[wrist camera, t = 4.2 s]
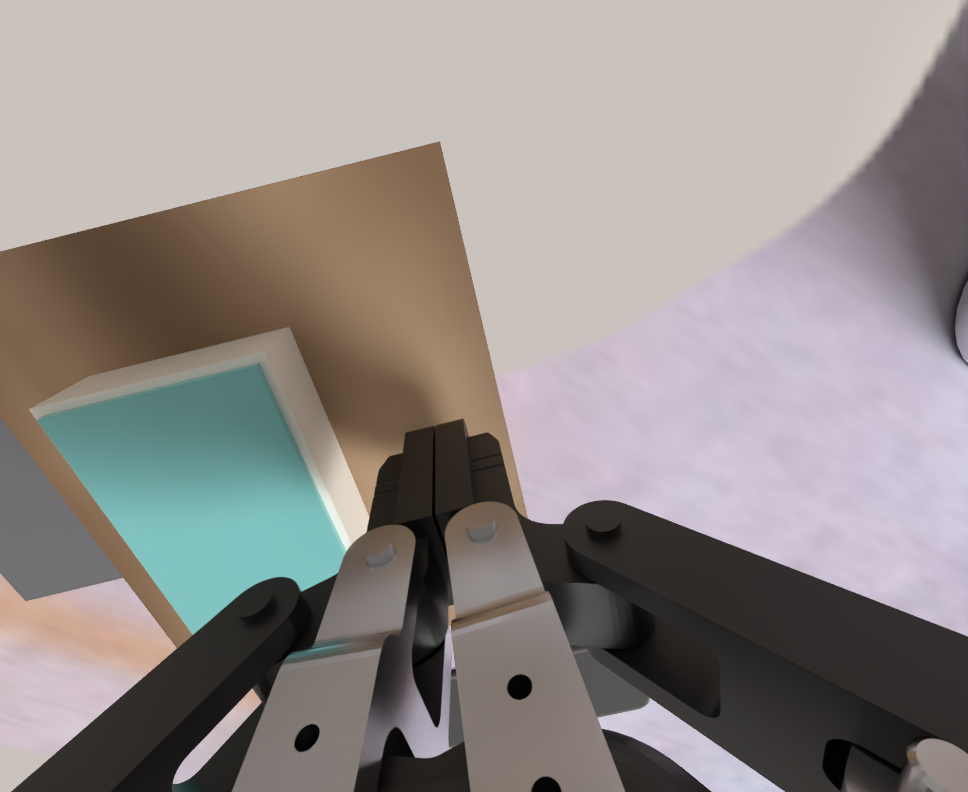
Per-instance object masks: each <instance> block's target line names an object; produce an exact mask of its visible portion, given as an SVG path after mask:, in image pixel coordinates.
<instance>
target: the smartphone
mask: <svg viewBox="0 0 968 792" xmlns="http://www.w3.org/2000/svg"><path fill="white" fill-rule="evenodd" d="M570 647H571V650H572V653H573V655H574V658H575V661H576V663H577V666H578V669H579V671H580V674H581V676H582V679H583V682H584V684H585V687H586V690H587V692H588V695H589V698H590V700H591V703H592V705H593V708H594V711H595V713H596V716H597V717H602V716H607V715H612V714H617V713H622V712H626V711H631V710H636V709H640V708H642V707H644V706H646V705H647V704H648V702H649V700H650V698H649V697H648V696H647V695H645V694H644V693H642V692H641V691H639V690H638V689H637V688H635V687H634V686H632V685H631V684H629V683H628V682H626V681H625V680H624V679H622V678H621V677H619V676H618V675H616V674H615V673H613V672H612V671H611V670H609V669H608V668H606V667H605V666H603V665H602V664H600V663H599V662H598V661H597V660H595V659H594V658H593V657H592V656H591V655H590V653H589V652H588V650H587V649H586V647H585V646H574V645H570ZM448 742H449V748H451V747H455V746H456V745H458V744H460V743H462V742H464V734H463V725H462V717H461V709H460V701H459V692H458V684H457V676H456V670H452V671H451V685H450V707H449V730H448Z"/></svg>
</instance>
